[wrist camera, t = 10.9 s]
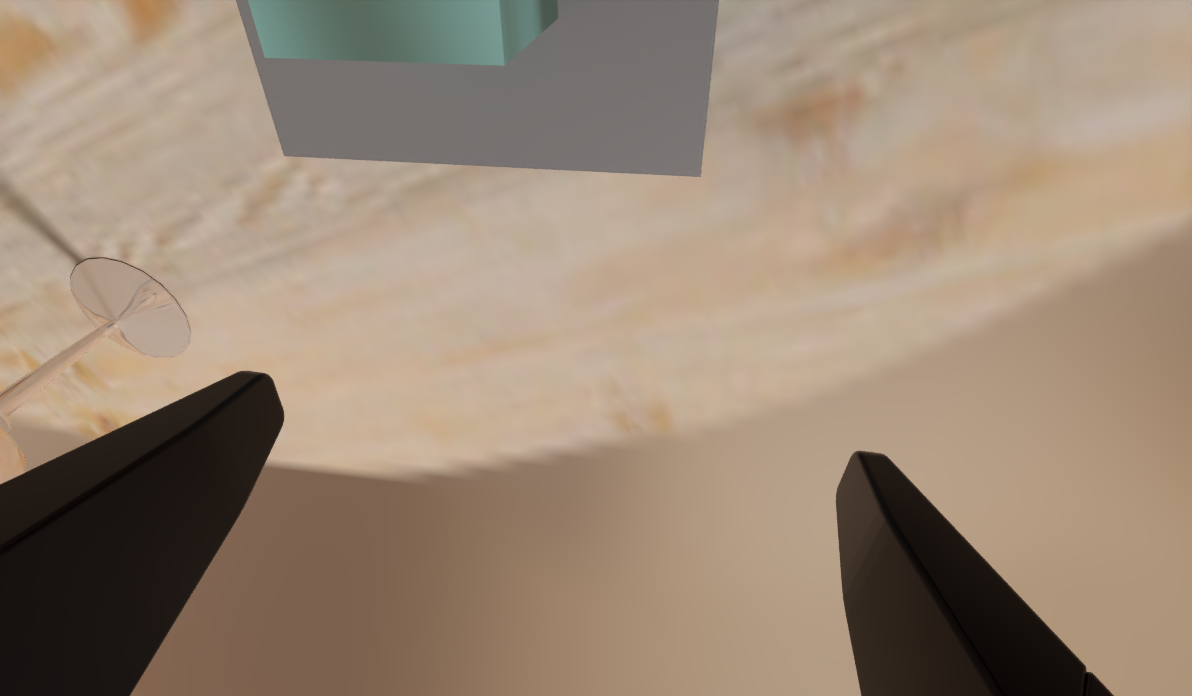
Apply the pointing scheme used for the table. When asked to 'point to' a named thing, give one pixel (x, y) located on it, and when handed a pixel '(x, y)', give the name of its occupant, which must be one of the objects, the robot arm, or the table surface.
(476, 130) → the plinth
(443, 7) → the teal block
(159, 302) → the wineglass
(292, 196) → the table surface
